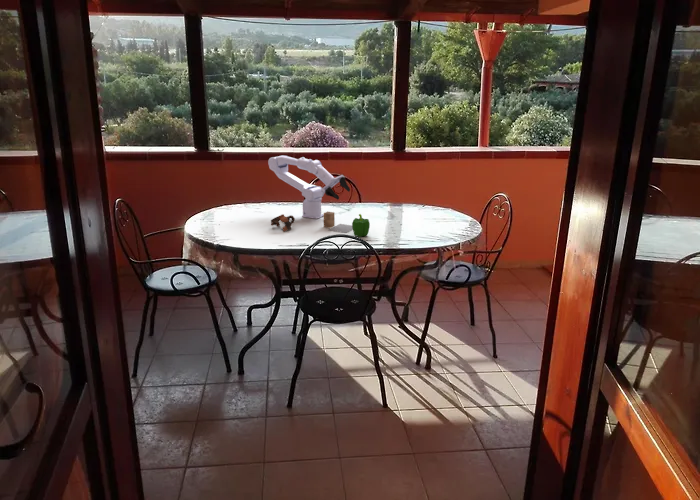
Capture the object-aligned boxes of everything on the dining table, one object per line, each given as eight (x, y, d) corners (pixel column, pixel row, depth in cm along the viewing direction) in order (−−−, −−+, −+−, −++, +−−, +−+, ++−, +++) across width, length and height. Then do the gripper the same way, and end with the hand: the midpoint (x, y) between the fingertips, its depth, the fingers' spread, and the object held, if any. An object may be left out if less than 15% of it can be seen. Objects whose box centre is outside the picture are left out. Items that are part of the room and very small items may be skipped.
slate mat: (328, 230, 269) (328, 229, 269) (340, 224, 279) (340, 223, 279) (346, 233, 264) (346, 232, 264) (357, 226, 274) (357, 226, 274)
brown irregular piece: (279, 234, 264) (272, 218, 264) (274, 237, 273) (266, 222, 272) (300, 224, 270) (292, 209, 269) (294, 227, 278) (286, 213, 278)
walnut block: (323, 226, 274) (323, 213, 272) (327, 224, 278) (327, 211, 276) (330, 227, 273) (330, 214, 270) (334, 225, 276) (334, 212, 274)
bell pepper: (368, 238, 256) (368, 218, 253) (350, 237, 258) (351, 217, 254) (370, 233, 264) (370, 213, 261) (353, 232, 265) (353, 212, 262)
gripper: (315, 180, 274) (334, 197, 271) (336, 165, 280) (355, 182, 276) (315, 188, 281) (333, 205, 277) (335, 173, 286) (353, 190, 282)
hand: (344, 194), depth 277 cm, fingers open, 7 cm apart
